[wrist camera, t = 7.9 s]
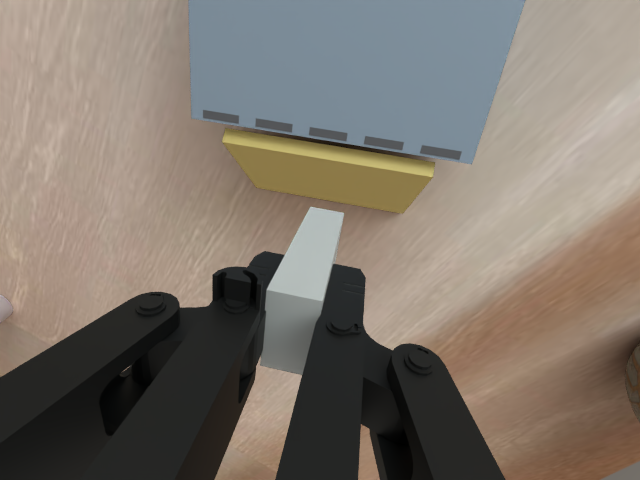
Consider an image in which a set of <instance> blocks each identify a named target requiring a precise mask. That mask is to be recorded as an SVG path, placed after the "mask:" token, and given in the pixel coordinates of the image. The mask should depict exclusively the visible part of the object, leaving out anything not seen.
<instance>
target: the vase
mask: <svg viewBox="0 0 640 480" xmlns="http://www.w3.org/2000/svg"><path fill="white" fill-rule="evenodd" d="M625 384H626V390H627V394H628V398H629V401H630V404H631V406H632V409H633V411H634V413H635V415H636V417H637V419H638V420H639V422H640V342H639V344H638V345H637V346H636V348H635V349H634V351H633V352H632V354H631V356H630V358H629V360H628V363H627V366H626V373H625Z"/></svg>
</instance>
